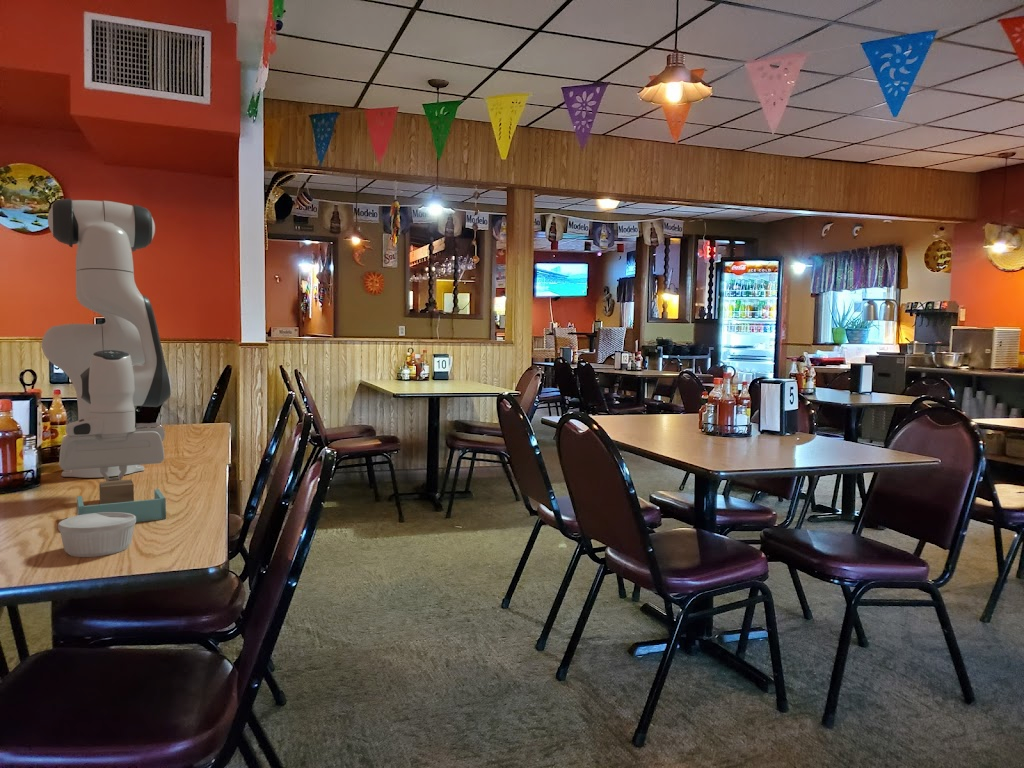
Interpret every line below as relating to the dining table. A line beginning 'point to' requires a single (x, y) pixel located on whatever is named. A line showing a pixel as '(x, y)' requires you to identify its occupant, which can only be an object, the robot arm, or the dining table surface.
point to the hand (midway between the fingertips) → (113, 486)
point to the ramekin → (97, 533)
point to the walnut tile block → (116, 491)
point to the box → (130, 508)
